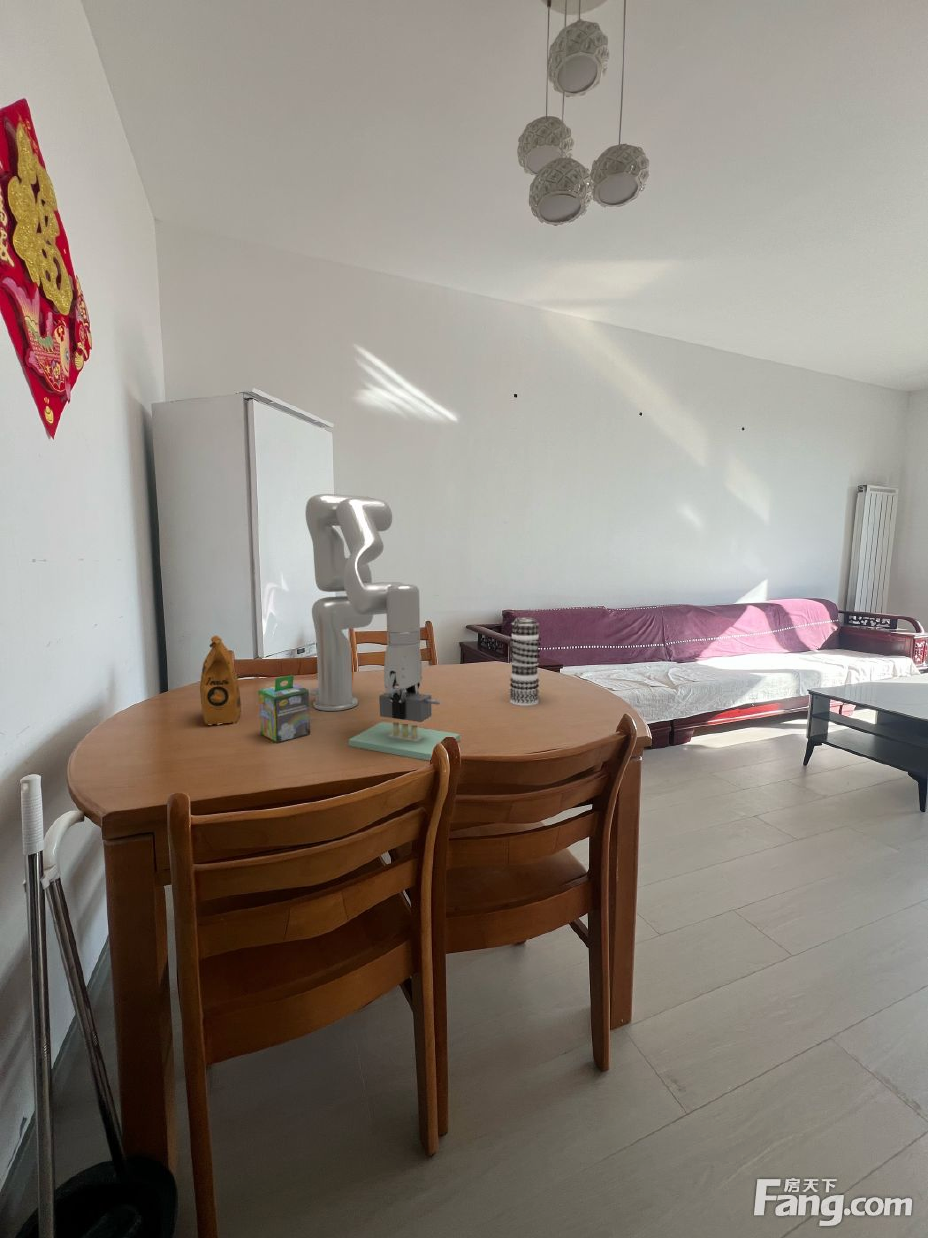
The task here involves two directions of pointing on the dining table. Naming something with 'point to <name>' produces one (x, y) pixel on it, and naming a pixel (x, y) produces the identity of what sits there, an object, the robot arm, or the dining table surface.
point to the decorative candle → (524, 662)
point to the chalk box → (284, 710)
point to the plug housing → (409, 706)
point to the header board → (401, 740)
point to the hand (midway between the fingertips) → (405, 714)
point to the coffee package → (219, 686)
